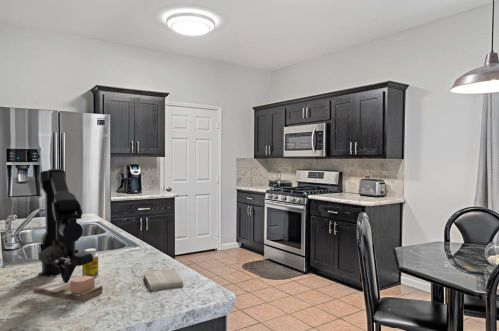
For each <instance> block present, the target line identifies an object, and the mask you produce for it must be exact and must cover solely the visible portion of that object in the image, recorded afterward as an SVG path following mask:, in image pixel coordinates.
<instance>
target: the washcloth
mask: <svg viewBox="0 0 499 331" xmlns="http://www.w3.org/2000/svg"><path fill="white" fill-rule="evenodd" d="M143 276H144V281H145V283H146V286H147V288H148V290H149V291H158V290H165V289H175V288H180V287H183V286H184V284H185V283H184V281H183V280H182V278H181V277H180V275H179V273H178V272H177V271H176V269H175V268H174V267H169V268H164V269H152V270H151V269H150V270H145V271H143Z"/></svg>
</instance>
